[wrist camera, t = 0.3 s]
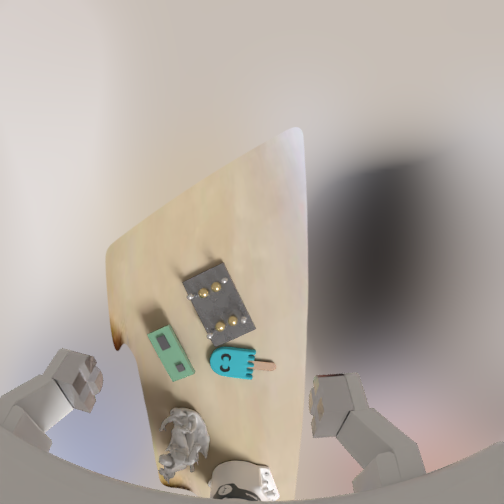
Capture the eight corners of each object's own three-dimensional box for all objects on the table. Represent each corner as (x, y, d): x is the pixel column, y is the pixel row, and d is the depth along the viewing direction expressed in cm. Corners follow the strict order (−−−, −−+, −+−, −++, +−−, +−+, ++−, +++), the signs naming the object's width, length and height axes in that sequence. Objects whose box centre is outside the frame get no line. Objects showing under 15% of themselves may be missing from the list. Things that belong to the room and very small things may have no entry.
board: (195, 371, 58) (193, 374, 56) (174, 379, 58) (172, 382, 56) (169, 324, 59) (167, 326, 57) (149, 333, 59) (146, 335, 57)
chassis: (255, 327, 62) (255, 334, 56) (215, 345, 62) (212, 353, 56) (223, 262, 62) (220, 262, 57) (183, 282, 62) (177, 283, 57)
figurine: (159, 398, 61) (133, 434, 43) (209, 402, 61) (196, 443, 43) (167, 451, 60) (149, 491, 42) (213, 455, 60) (204, 499, 42)
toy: (274, 382, 60) (208, 374, 60) (273, 379, 62) (209, 371, 62) (278, 354, 60) (210, 345, 60) (278, 351, 62) (212, 343, 62)
